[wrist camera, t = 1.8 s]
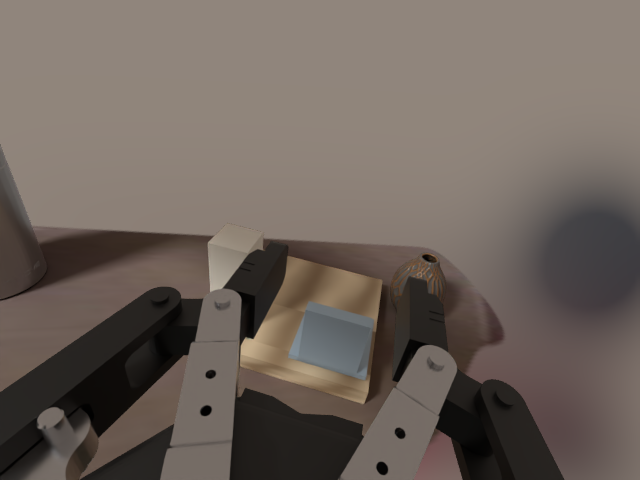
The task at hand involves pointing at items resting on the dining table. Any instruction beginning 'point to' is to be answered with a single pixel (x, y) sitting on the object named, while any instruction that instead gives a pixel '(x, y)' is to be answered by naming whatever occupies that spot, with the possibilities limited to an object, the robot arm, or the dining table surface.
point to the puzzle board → (286, 317)
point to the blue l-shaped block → (334, 340)
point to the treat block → (230, 252)
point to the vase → (419, 276)
